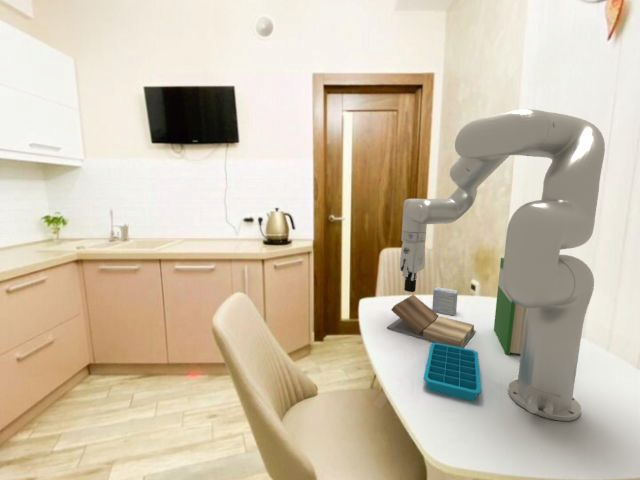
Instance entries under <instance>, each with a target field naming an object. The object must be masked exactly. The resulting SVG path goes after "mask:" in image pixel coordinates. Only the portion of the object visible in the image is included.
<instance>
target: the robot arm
mask: <svg viewBox="0 0 640 480" xmlns="http://www.w3.org/2000/svg"><path fill="white" fill-rule="evenodd" d="M605 146H606V145H605V139H604V136H603V134H602V132H601V130H600V129H599V128H598V127H597V126H596V125H595V124H594V123H592V122H590V121H587V120H586V119H584V118H580V117H575V116H572V115H568V114H563V113H557V112H551V111H549V112H548V111H544V110H541V109H540V110H539V109H531V108H523V109H520V108H519V109H516V110H511V111H506V112H502V113H499V114H495V115H490V116H486V117H481V118H478V119H473V120H471V121H470V122H468V123H467V124H465V125H464V126H463V127H462V128H461V129H460V131H459V132H458V133H457V135H456V138H455V141H454V149H455V152H456V154H457V155H458V156H460V157H459V158H458V159H457V161H456V162H455V163H454V164H453V165H452V166H451V167H450V170H449V177H450V179H451V180H452V182H453V183H454V184H455V185H456V186H457V188H456V189H455V191H454V192H453V193H452V194H451V195H450V196H449V197H447V198H408V199H405V200H404V202H403V211H402V224H401V225H402V227H401V238H400V239H401V241H402V245H401V249H400V259H399V270H400V271H401V272H402V277H404V291H405V292H409V293H414V292H416V287H417V284H416V283H417V277H418V273H419V272H420V271H423V270H424V269H425V265H426V263H425V262H426V239H427V225H436V224H437V225H438V224H439V225H440V224H451V223H453V222H456V221H457V220H459V219H460V218H461V217H463V215H465V214H466V213H467V212H468V211H469V210H470V209H471V208H472V206H473V205H474V203H475V201H476V197H477V194H478V188H479V187H480V186H481V185H482V184H483V183H484V181H486V179H488V178H489V177H490V176H491V175H492V174H493V173H494V172H495V171H496V170H497V169H498V168H499V167H500V166H501V165H502V164H503V163H504V162H505V161H506V160H507V159H508V158H509V157H510V156H523V157H524V156H526V157H534V158H535V157H536V158H537V157H538V158H546V159H547V158H548V159H550V160H551V163H550V165H549V167H548V169H547V171H546V173H545V176H544V179H543V183H542V184H543V186H542V192H541V193H542V194H541V199H540V200H539V199H538V200H532V201H529V202H527V203H524V204H523V205H520V206H519V208H517V209H516V210H515V211H514V213H513V214H512V216H511V217H510V220H509V222H508V226H507V229H506V237H505V246H504V257H503V258H504V265H503V285H504V289H505V291H506V293H507V295H508V297H509V298H510V299H511V300H512V301H513V302H514V303H516V304H517V305H519V306H522V307H525V308H527V311H526V316H525V322H524V330H523V339H522V347H521V354H520V356H519V357H520V358H519V366H518V367H519V368H518V375H517V379H515V380H512V381H511V382H509V384H508V389H507V390H508V395H509V396H510V398H511V399H512V400H513V401H514V402H515V403H516V404H518V405H519V406H520V407H521V408H523V409H525V410H527V411H528V412H529V413H530V414H535V415H537V416H540V417H543V418H546V419H550V420H552V421H553V420H556V421H560V422H561V421H562V422H564V421H565V422H567V421H574V420H577V419H578V418H579V417H580V416H581V412H582V407H581V405H580V403H579V401H578V400H577V399H576V398H575V397H574V396H573V395H574V389H575V384H576V376H577V369H578V361H579V354H580V347H581V340H582V334H583V328H584V324H585V323H584V322H585V317H586V315H587V311H588V308H589V304H590V302H591V299H592V297H593V293H594V287H595V278H594V273H593V271H592V270H591V267H589V266H588V264H586V262H584V261H583V260H581V259H579V258H578V257H575V256H572V255H568V254H560V253H561V252H560V251H561V250H567V249H575V248H578V247H581V246H583V245H585V244H587V242H588V241H589V240H590V239H591V237H592V236H593V232H594V228H595V224H596V223H595V221H596V215H597V213H596V212H597V207H598V201H599V200H598V199H599V192H600V191H599V190H600V183H601V181H600V180H601V175H602V169H603V164H604V163H603V162H604V159H605V158H604V157H605V150H606V149H605Z"/></svg>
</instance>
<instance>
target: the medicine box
mask: <svg viewBox="0 0 640 480" xmlns="http://www.w3.org/2000/svg"><path fill="white" fill-rule="evenodd" d="M432 291H433V293H432V307H431V310H433V311H434V312H435V313H438V314H444V315H449V316H456V313H457V308H458V294H459V291H458V290H456V289H452V288H451V289H450V288H445V287H435V288H434V289H433V290H432Z"/></svg>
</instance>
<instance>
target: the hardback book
mask: <svg viewBox="0 0 640 480" xmlns="http://www.w3.org/2000/svg"><path fill="white" fill-rule="evenodd" d="M503 265H504V257H500V263H499V271H498V272H499V274H498V284H497V293H496V294H497V295H496V303H495V311H494V323H493V331H494V333H495V336H496V337H497V339H498V341H499V344H500V346H501V348H502V350H503V352H504V354H505V355H506V356H509V357H510V355H511V354H517V355H521V347H522V339H523V330H524V322H525V316H526V311H527V308H525V307H522V306H519V305H517V304H516V303H514V302H513V301H512V300H511V299H510V298H509V297H508V295H507V293H506V291H505V289H504V285H503Z"/></svg>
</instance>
